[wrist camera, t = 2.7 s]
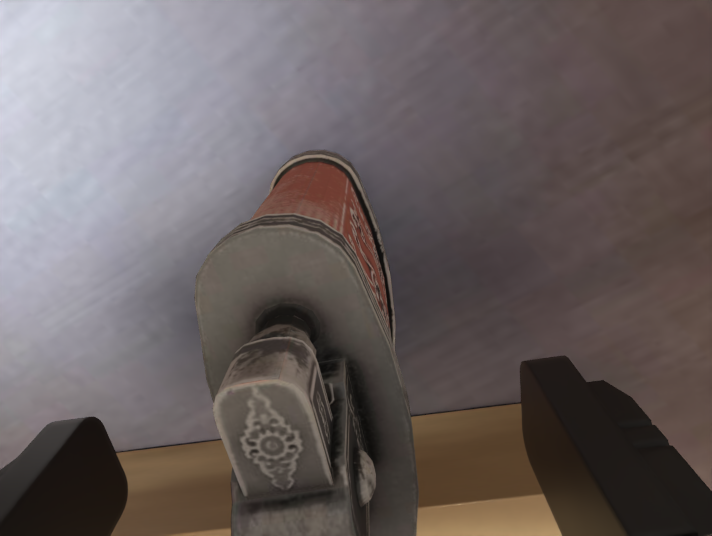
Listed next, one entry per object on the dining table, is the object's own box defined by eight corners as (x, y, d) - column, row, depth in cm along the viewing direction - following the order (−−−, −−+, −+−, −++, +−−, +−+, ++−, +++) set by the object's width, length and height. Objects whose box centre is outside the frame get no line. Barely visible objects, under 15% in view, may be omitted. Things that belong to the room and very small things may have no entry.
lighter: (252, 162, 14) (47, 334, 5) (365, 139, 14) (374, 275, 5) (314, 384, 17) (260, 753, 8) (408, 369, 17) (466, 734, 8)
